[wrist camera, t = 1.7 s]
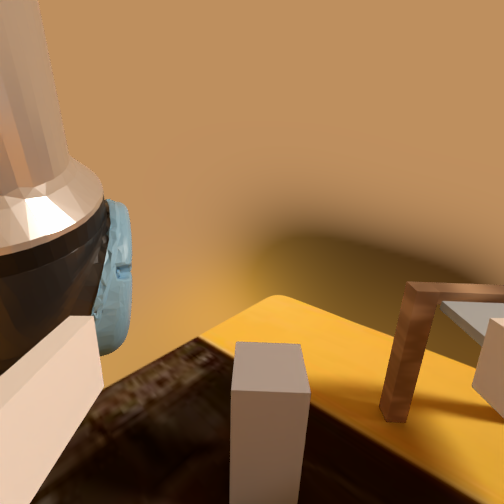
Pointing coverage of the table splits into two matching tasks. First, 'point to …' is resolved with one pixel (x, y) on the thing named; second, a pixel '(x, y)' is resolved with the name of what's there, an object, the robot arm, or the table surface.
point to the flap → (473, 316)
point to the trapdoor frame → (421, 337)
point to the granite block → (267, 423)
